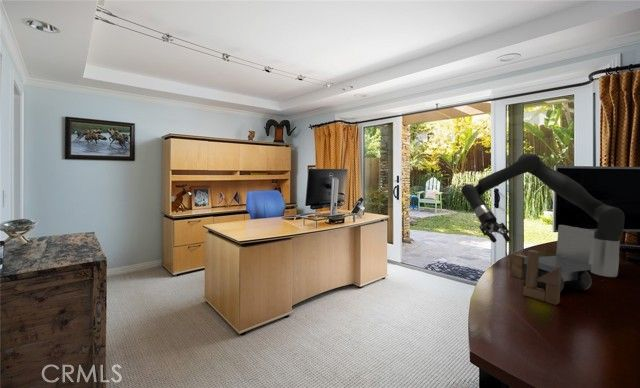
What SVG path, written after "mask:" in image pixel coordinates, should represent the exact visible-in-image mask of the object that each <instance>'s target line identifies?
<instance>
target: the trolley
mask: <svg viewBox="0 0 640 388" xmlns="http://www.w3.org/2000/svg"><path fill="white" fill-rule="evenodd" d="M557 229H558V230H557V240H556V241H557V242H556V243H557V244H556V253H555V254H556V255H548V256H547V255H546V256H539V263H538V278H540V277H542V276H543V275H545V274H547V273H549V272H551V271H552V270H554V269H556V268H558V267H560V266H562V275H561V284H560V285H561V288H560V293H561V292H562V291H563V289H564V287H565V284H567V285H568V286H569V287H570V288H572V289H574V290H576V291H584V290H587V289H590V287H591V286H592V283H593V280H592V276H591V274H590V273H589V272H588V271H591V267H592V255H593V243H594V233H595V230H594V229H588V228H583V227H577V226H571V225H565V224H558V227H557ZM524 264H527V258H524ZM526 272H527V266H526V267H525V268H524V269H523V277H524V279H523V280H524V281H525V282H526ZM538 278H537V279H538ZM546 284H547V283H543V282H539V281H537V288H539V287H540V288H541V289H543V290H545V291H546Z"/></svg>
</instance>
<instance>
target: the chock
mask: <svg viewBox="0 0 640 388" xmlns="http://www.w3.org/2000/svg"><path fill="white" fill-rule="evenodd" d="M527 257H528V255H524V254H520V253H518V254H516V253H515V254H512V261H511V276H512V277H514V276H515V277H514V278H517V279H519V278H520V280H524V277H523V269H524V268H525V267H526V266H527V264H524V258H527Z"/></svg>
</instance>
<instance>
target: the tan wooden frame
mask: <svg viewBox="0 0 640 388" xmlns="http://www.w3.org/2000/svg"><path fill="white" fill-rule="evenodd" d="M539 257H540V251H538V250H534V249H528V250H527V272H526V281H525V285H524V286H523V289H522V290H523V291H522V292H523V293H522V295H523V296H524V297H527V298H531V299H535V300H537V301H542V302H545V303H547V304H551V305H553V306H557V305H558V304H560V297H561V292H560V288H561V285H560V284H561V275H562V266H560V267H558V268H556V269H554V270H552V271H551V272H549V273H547V274H545V275H543V276H542V277H540V278H538V263H539ZM537 278H538V279H537ZM537 281H539V282H543V283H547V284H546V291H545V290H543V289H542V288H541V287H537Z"/></svg>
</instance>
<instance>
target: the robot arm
mask: <svg viewBox="0 0 640 388" xmlns="http://www.w3.org/2000/svg"><path fill="white" fill-rule="evenodd" d="M526 173H529V174H530V175H532V176H533V177H535V178H537V179H538V180H539V181H541V182H542V183H543V184H544V185H545V186H546V187H548V188H549V189H550V190H551V191H553V192H554V193H556V194H557V195H558V196H560V197H562V198H563V199H565V200H566V201H567V202H570V203H572V204H573V205H574V206H576V207H579V208H580V209H582V211H583V212H585V213H587V214H588V215H589V216H590V217H591V218H592V219H593V220H594V221H596V222H597V229H596V231H594V243H593V255H592V267H591V270H590V273H591V274H595V275H597V276H602V277H608V278H616V277H617V276H618V275H619V263H620V255H619V254H620V244H621V243H620V241H621V237H622V236H623V233H624V226H625V220H626V219H625V213H624V212H623V210H622V209H620V208H618V207H616V206H611V205H608V204H606V203H603V202H602V201H600V200H598V199H596V198H595V197H594V196H593V195H591V194H590V193H589V191H587V190H586V188H584V187H583V186H582V185H581V184H580V183H579V182H577V181H575V180H574V179H572V178H571V177H569V176H568V175H566V174H564V173H561V172H560V171H557V170H555V169H553V168H551V167H549V165H548V164H547V165H546V163H544V162H543V161H541V158H540V157H539V155H537V154H535V153H531V152H529V153H524V154H522V155H520V156H519V157H518V159H517V160H516V161H515V162H514V163H512V164H510V165H509V166H506V167H504V168H503V169H500V170H498V171H495V172H492V173H491V174H488V175H487V176H485V177H483V178H481V179H479V180H478V181H477V184H476V185H475V186H474V185H473V184H471V183H466V184H464V185H463V186H462V187H461V193H462V195H463V196H464V197H465V199H466V201H467V202H468V203H469V205H470V207H471V209H472V210H473V212H474V214H475V216H476V218H477V219H478V221H479V222H480V225H479V226H478V227H479V229H480V231H481V232H482V234H483V236H487V237H488V238H489V240H490V241H491V243H496V242H497V238H496V237H495V235H494V234H493V233H497V234H499V235H501V236H502V238H504V240H505V242H506V243H508V242H510V241H511V237H510V236H509V233H510V230H509V229H508V227H507V226H506V225H505V223H503V222H501V223H498V222H497V220H498V219H497V217H496V215H495V214H494V213H493V211H492V209H490V207H489V206H488V204H487V203H486V202H485V200H484V199H483V198H482V197H481V196H482V195H484V194H485V193H486V192H487V191H490V190H491V189H493V188H495V187H497V186H499V185H500V184H503V183H505V182H506V181H507V182H508V180H511V179H513V178H515V177H517V176H520V175H522V174H526Z"/></svg>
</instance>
